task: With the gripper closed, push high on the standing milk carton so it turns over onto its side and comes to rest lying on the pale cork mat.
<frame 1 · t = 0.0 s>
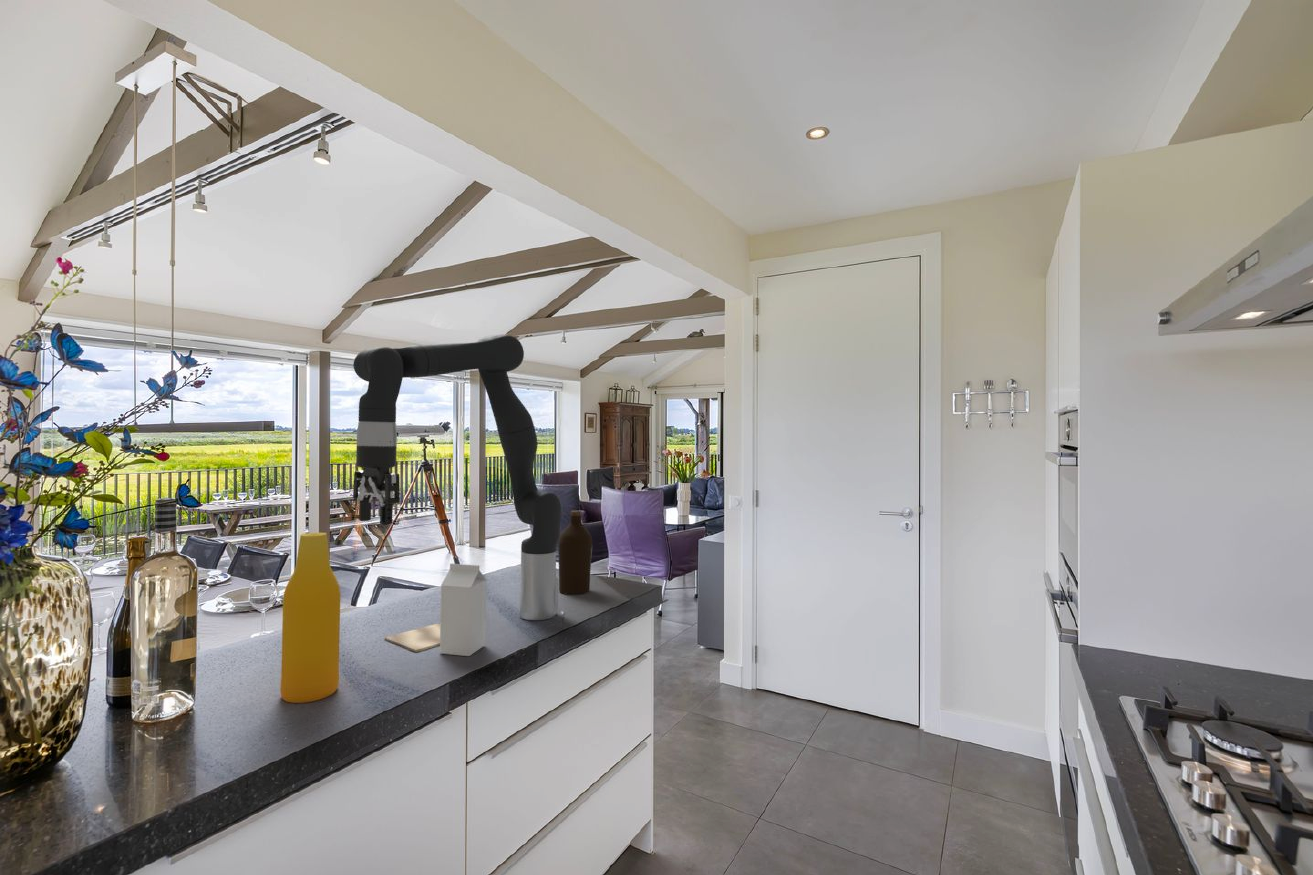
hand: (375, 522, 123), 29 cm above the counter, tool pointing down, fingers open, 8 cm apart
olive oil: (574, 591, 185), on the counter
cork mat: (429, 637, 140), on the counter
milk carton: (462, 650, 132), on the counter
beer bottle: (310, 694, 108), on the counter
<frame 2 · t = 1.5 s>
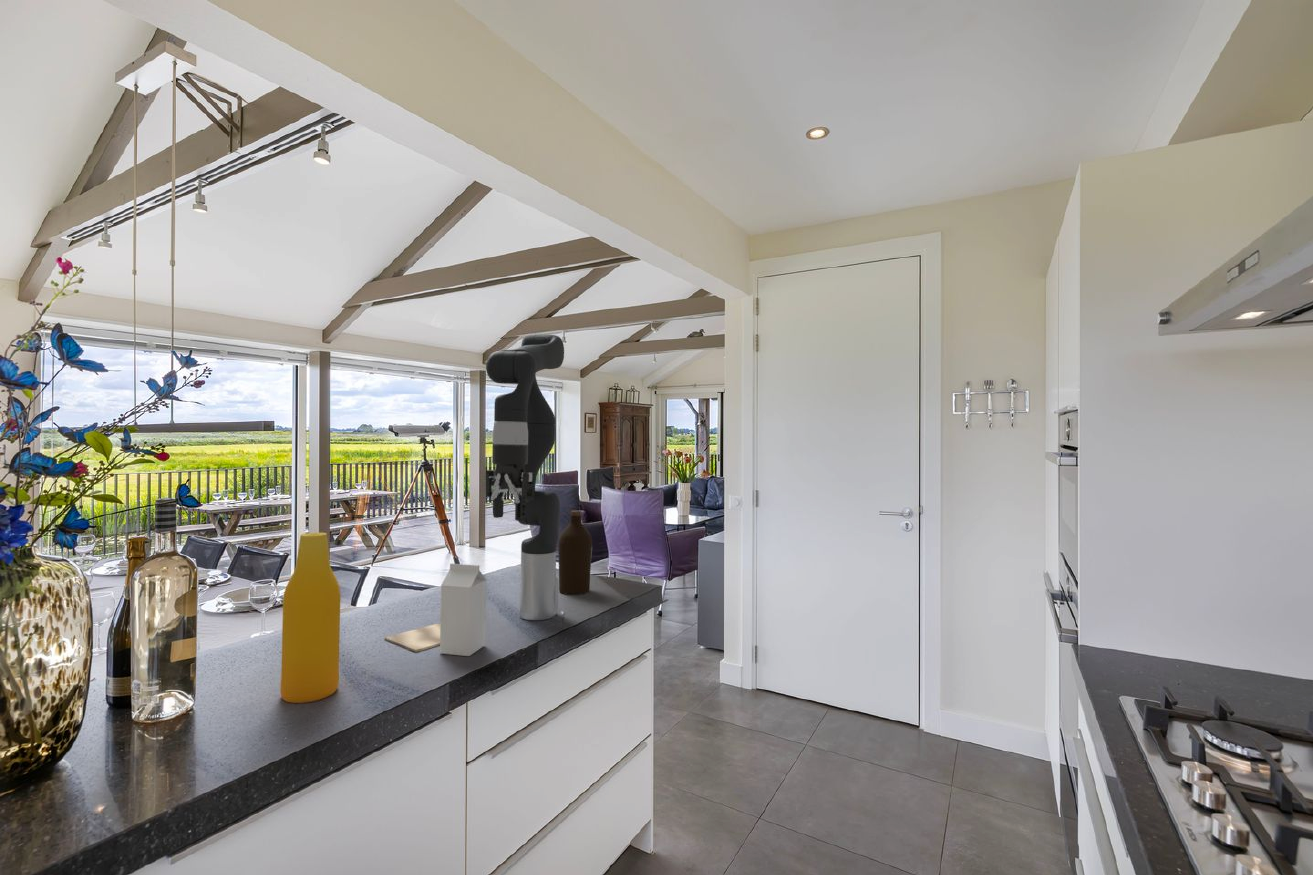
hand: (508, 518, 129), 30 cm above the counter, tool pointing down, fingers open, 7 cm apart
nothing on the counter moved.
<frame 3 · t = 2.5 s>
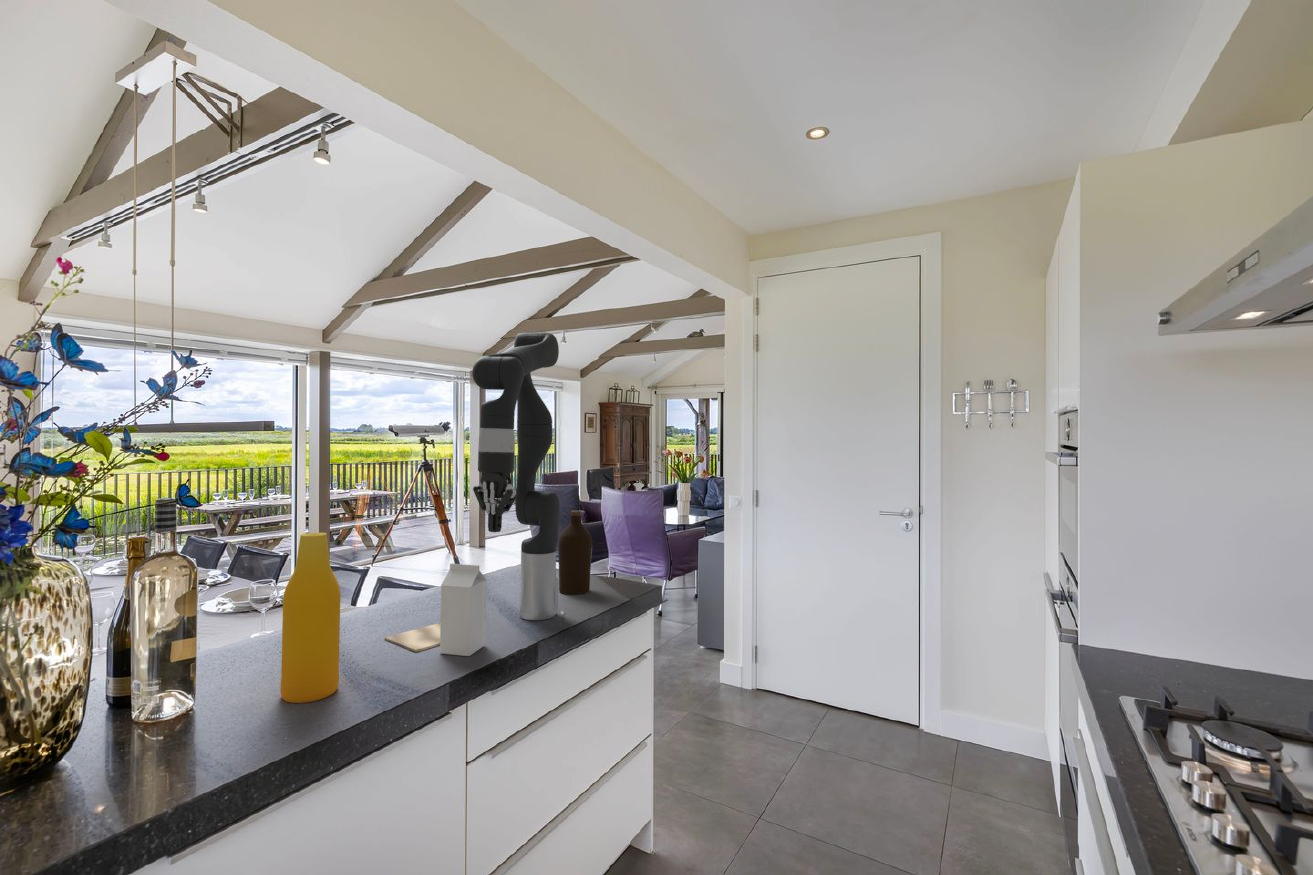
hand: (494, 531, 126), 27 cm above the counter, tool pointing down, fingers closed
nothing on the counter moved.
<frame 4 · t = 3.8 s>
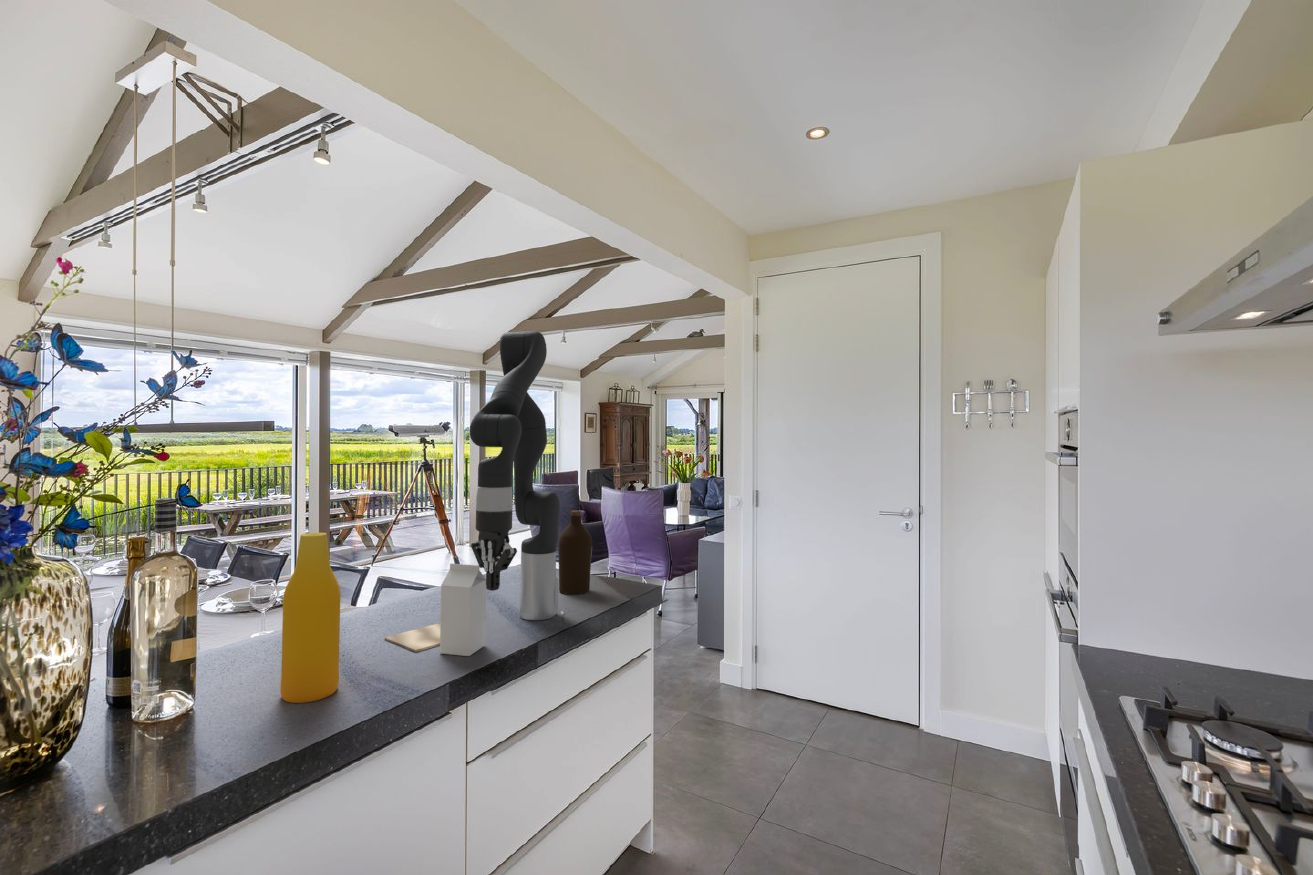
hand: (492, 589, 126), 15 cm above the counter, tool pointing down, fingers closed
nothing on the counter moved.
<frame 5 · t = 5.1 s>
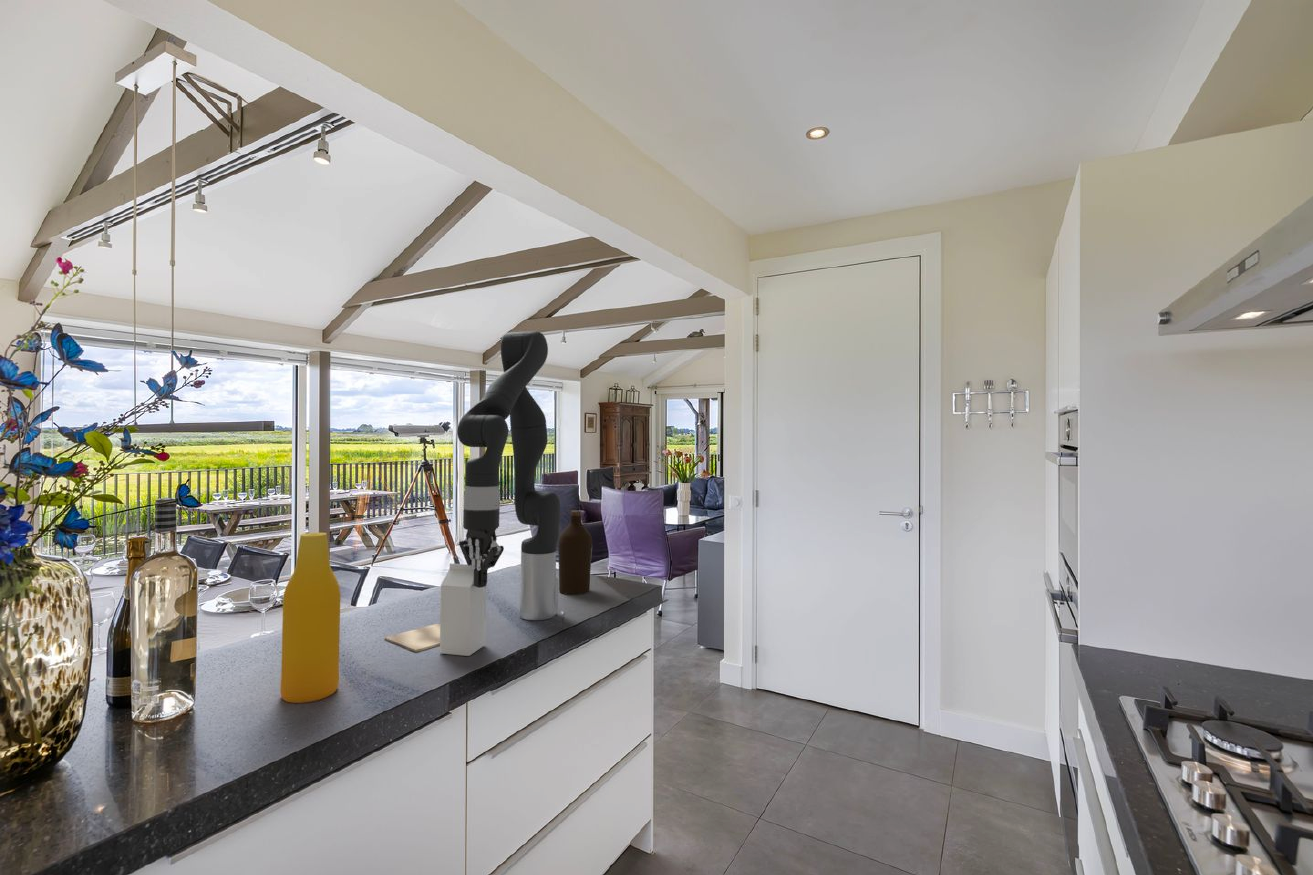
hand: (480, 586, 129), 15 cm above the counter, tool pointing down, fingers closed
milk carton: (462, 650, 132), on the counter, touching gripper
everything else where it was.
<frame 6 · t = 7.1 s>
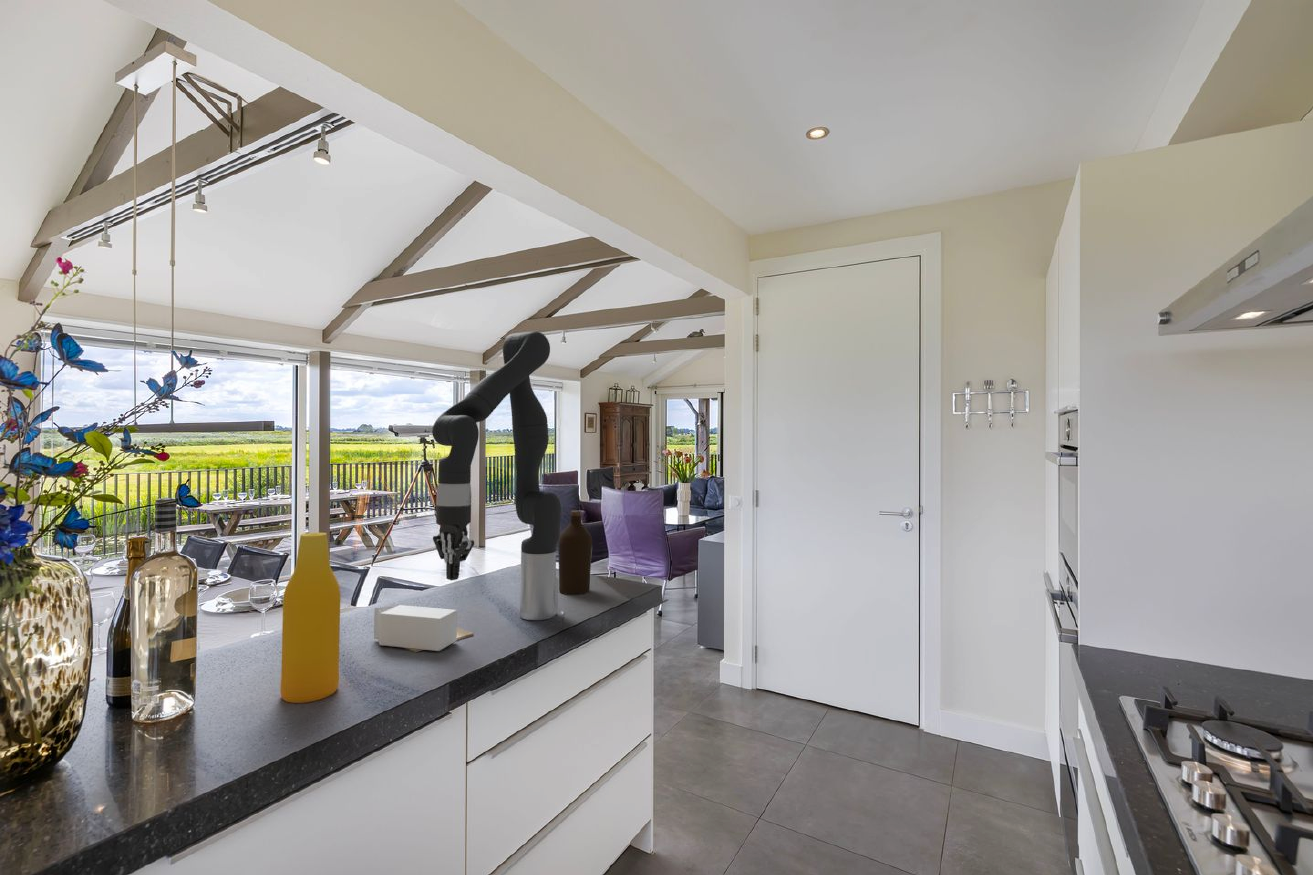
hand: (452, 579, 135), 15 cm above the counter, tool pointing down, fingers closed
milk carton: (450, 630, 133), point 4 cm above the counter, touching cork mat
everything else where it was.
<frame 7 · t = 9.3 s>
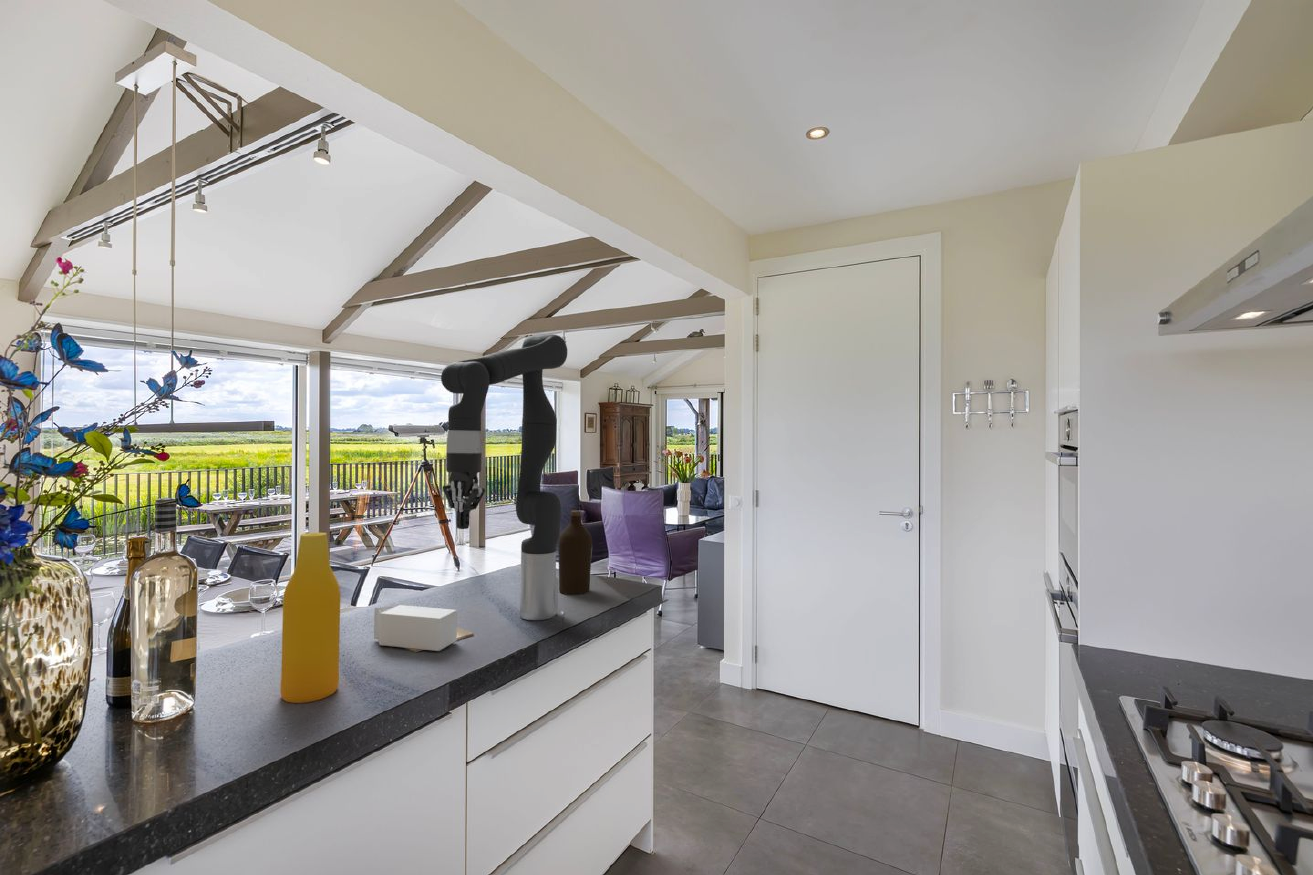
hand: (462, 528, 133), 27 cm above the counter, tool pointing down, fingers closed
nothing on the counter moved.
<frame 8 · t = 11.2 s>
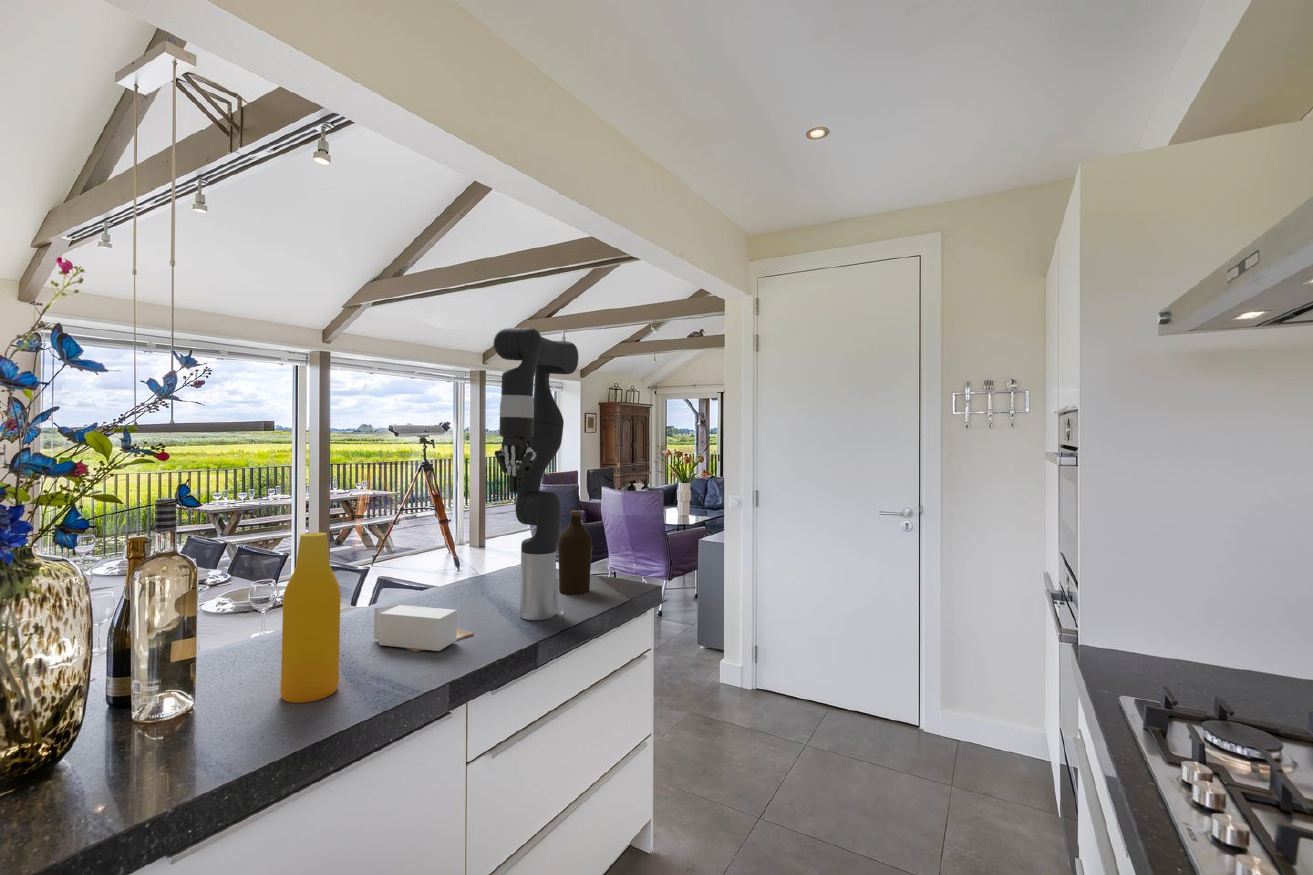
hand: (515, 492, 134), 35 cm above the counter, tool pointing down, fingers closed
nothing on the counter moved.
at the end: milk carton tilted 90°; milk carton 10.0 cm from the cork mat (horizontally); the gripper is holding nothing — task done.
